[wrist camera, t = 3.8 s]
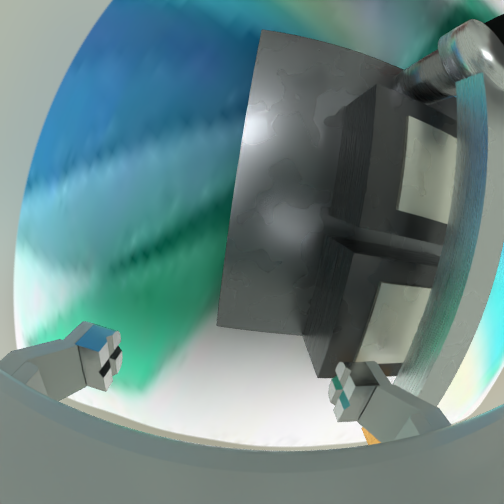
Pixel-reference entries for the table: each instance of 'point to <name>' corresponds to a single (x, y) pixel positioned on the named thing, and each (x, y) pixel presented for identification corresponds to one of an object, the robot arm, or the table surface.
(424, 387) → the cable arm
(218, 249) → the table surface
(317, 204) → the tray
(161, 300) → the table surface
